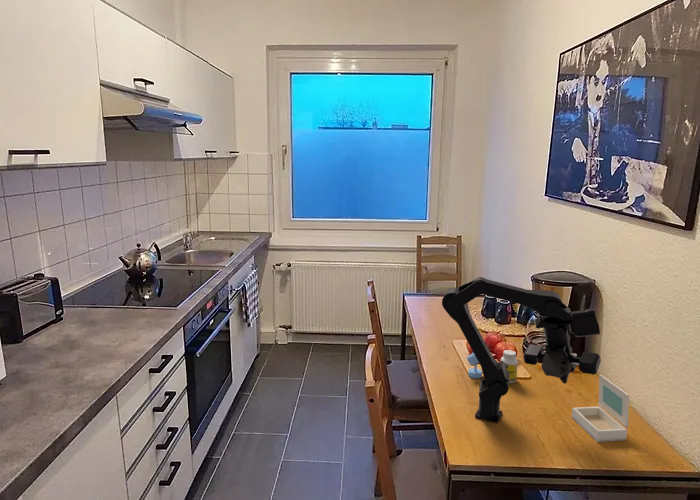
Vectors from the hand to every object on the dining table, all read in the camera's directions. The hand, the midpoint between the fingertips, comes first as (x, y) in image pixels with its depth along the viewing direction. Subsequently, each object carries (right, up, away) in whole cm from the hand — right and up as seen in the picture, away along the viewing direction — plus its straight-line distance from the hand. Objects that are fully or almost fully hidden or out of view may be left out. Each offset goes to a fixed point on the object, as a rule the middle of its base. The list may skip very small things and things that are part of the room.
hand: (565, 382), depth 132 cm
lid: (+11, -4, -4) cm, 12 cm away
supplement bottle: (-8, -6, +26) cm, 28 cm away
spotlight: (-17, -6, +29) cm, 34 cm away
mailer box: (+7, -12, -3) cm, 14 cm away
